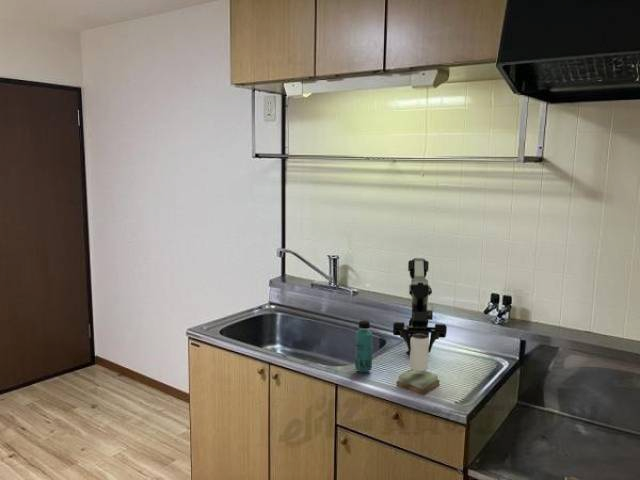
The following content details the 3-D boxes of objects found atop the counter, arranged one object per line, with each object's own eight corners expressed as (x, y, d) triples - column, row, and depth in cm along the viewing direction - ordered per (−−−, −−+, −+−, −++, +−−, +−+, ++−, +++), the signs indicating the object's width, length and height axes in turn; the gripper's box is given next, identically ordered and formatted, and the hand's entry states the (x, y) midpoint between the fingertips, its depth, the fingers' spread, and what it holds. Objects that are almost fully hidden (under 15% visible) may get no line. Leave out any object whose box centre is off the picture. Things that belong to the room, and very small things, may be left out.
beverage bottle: (357, 368, 203) (358, 318, 200) (374, 370, 201) (375, 320, 198) (352, 374, 197) (352, 322, 194) (369, 377, 195) (370, 324, 192)
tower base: (396, 386, 186) (396, 376, 186) (412, 377, 195) (412, 366, 194) (424, 395, 179) (424, 384, 179) (439, 385, 188) (439, 374, 187)
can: (416, 373, 182) (417, 340, 180) (406, 366, 188) (406, 334, 186) (432, 370, 185) (433, 337, 183) (420, 363, 190) (421, 331, 189)
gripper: (393, 300, 188) (392, 340, 179) (447, 302, 185) (448, 343, 176) (393, 315, 197) (392, 353, 188) (444, 317, 194) (446, 356, 185)
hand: (419, 351), depth 184 cm, fingers closed on can, 6 cm apart
